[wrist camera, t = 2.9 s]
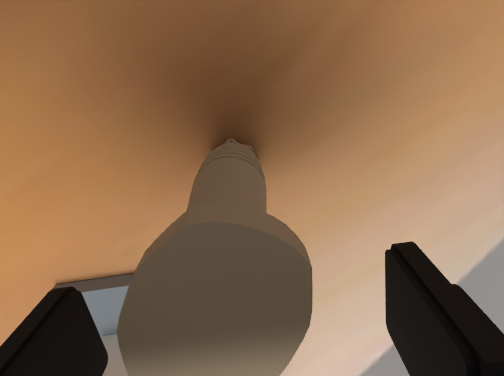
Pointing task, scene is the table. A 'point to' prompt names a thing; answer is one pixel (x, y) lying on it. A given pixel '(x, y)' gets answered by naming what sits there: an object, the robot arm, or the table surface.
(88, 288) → the socket
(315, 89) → the table surface
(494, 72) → the table surface
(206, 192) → the handle
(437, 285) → the robot arm
